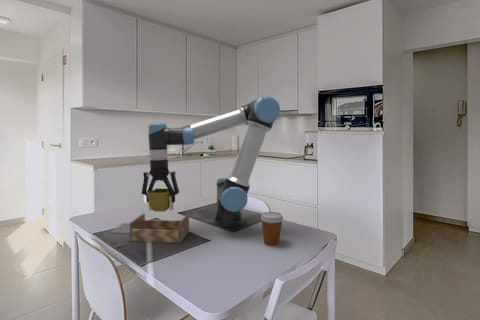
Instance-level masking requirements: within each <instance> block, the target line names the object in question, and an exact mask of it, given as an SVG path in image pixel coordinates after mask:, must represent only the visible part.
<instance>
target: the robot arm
mask: <svg viewBox="0 0 480 320" xmlns="http://www.w3.org/2000/svg"><path fill="white" fill-rule="evenodd" d="M280 113H281V105H280V104H279V102H278V101H277V99H275V98H274V97H272V96H269V95H263V96H260V97H258V98H256V99H254V100H251V102H249V103H247V104H244V105H242V106H239V108H238V109H236V110H233V111H230V112H226V113H223V114H220V115H217V116H213V117H211V118H207V119H204V120H201V121H198V122H195V123H191V124H189V125H185V126H181V127H168V126H167V124H166V123H163V122H162V123H155V122H154V123H149V124H148V134H147V135H148V148H149V149H148V151H149V159H150V160H149V167H150V170H149V171H145V172H143V174H142V175H143V183H142V189H141V194H142V195H145V196H146V203H147V204H148V211H153V210H152V208H151V207H150V205H149V202H148V197H147V192H149V191H152V190H154V189H153V188H154V186H155V184H156V182H157V181H162V182H163V183H164V185H165V187H166V189H168V190H169V192H170V194H171V195H170V196H169V200H170V208H169V211H171V212H172V211H173V210H174V203H175V202H176V195H179V193H180V190H179V186H178V181H177V178H176V171H175V170H174V171H170V170H169V160H168V156H169V154H168V146H183V145H185V146H188V145H194V144H195V143H196V141H195V140H197V139H202V138H204V137H207V136H210V135H213V134H217V133H220V132H224V131H227V130H228V129H232V128H235V127H239V126H242V125H244V126H248V127H247V130H246V132H245V135H244V138H243V141H242V143H241V147H240V149H239V152H238V154H237V157H236V160H235V163H234V165H233V168H232V171H231V174H230V175H228V176H226V177H224V178H223V177H222V178H221V177H220V178H217V180H216V210H215V213H214V216H213V224H214V225H215V226H217V227H222V228H236V227H238V226H239V227H240V226H241V225H243V224H244V217H243V213H242V210H243V209H244V208H245V207H246V206H247V203H248V198H249V197H248V193H249V191H250V188H251V184H250V183H249V181H250V178H251V175H252V173H253V171H254V168H255V165H256V162H257V159H258V156H259V154H260V151H261V148H262V145H263V143H264V140H265V137H266V134H267V133H268V132H269V131H272V127H273V126H274V123H275V121H277V119H278V118H279V116H280ZM150 176H151V177H152V178H151V180H150V182H149V179H150ZM168 176H169V177H170V179H169V177H168ZM169 180H171V182H172V184H171V182H170V181H169ZM148 184H149V186H148Z"/></svg>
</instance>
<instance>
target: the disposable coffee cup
mask: <svg viewBox="0 0 480 320" xmlns="http://www.w3.org/2000/svg"><path fill="white" fill-rule="evenodd" d="M260 220H261V227H262V236H263V243H264V244H265V245H268V246H278V245H279V243H280V238H281V231H282V225H283V221H284V217H283V214H282V213H279V212H275V211H266V212H262V214H261V216H260Z"/></svg>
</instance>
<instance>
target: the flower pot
mask: <svg viewBox="0 0 480 320" xmlns="http://www.w3.org/2000/svg"><path fill="white" fill-rule="evenodd" d="M170 195H171V194H170V192H169V190H168V188H165V187H164V188H162V187H161V188H158V187H157V188H154V189H152V191H149V192H147V197H148V202H149V203H148V206H149V205H150V207H151V208H152V210H151V211H153V212H160V213H161V212H162V213H163V212H164V213H165V212H166V211H167V210H170V200H169V196H170Z"/></svg>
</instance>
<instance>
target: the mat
mask: <svg viewBox="0 0 480 320" xmlns="http://www.w3.org/2000/svg"><path fill="white" fill-rule="evenodd" d="M109 234H120V235H121V234H124V235H125V234H126V235H127V234H129V235H130V222H129V223H121V224H120V225H119V226H117V227H116V228H114V229H113V230H111V231H109Z"/></svg>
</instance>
